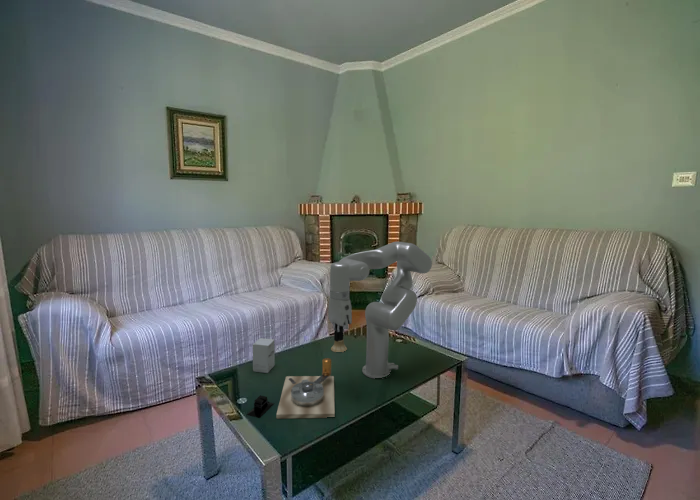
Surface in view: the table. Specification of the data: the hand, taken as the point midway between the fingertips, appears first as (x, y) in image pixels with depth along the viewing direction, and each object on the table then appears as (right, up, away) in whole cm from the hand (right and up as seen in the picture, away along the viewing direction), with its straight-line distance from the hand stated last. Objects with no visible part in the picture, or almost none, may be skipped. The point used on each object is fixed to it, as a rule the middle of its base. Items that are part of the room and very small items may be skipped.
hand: (338, 340), depth 134 cm
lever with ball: (-9, -19, -1) cm, 21 cm away
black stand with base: (-28, -23, -11) cm, 37 cm away
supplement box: (-34, -18, +19) cm, 43 cm away
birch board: (-12, -21, -2) cm, 24 cm away
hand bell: (-1, -16, +41) cm, 44 cm away
